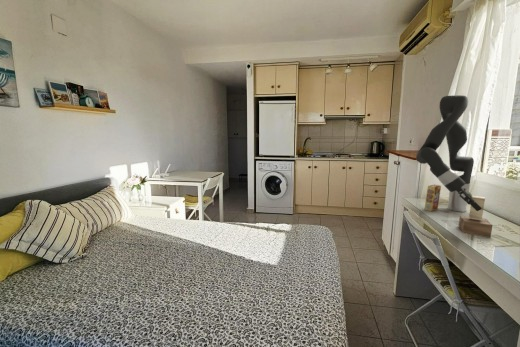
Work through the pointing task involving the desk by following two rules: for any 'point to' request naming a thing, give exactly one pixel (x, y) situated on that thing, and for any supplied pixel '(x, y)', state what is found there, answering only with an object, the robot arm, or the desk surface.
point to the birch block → (479, 213)
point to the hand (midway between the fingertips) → (479, 208)
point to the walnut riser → (475, 226)
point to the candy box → (432, 197)
